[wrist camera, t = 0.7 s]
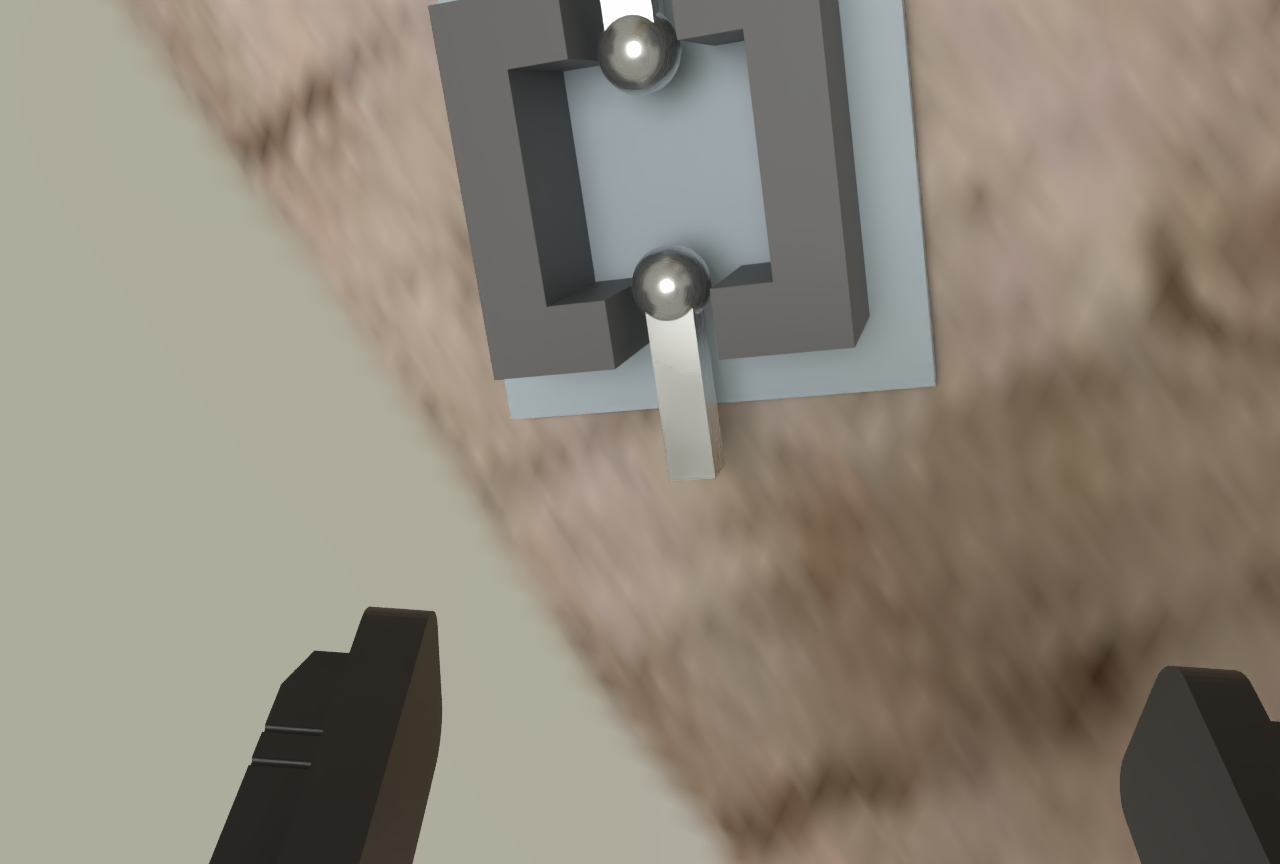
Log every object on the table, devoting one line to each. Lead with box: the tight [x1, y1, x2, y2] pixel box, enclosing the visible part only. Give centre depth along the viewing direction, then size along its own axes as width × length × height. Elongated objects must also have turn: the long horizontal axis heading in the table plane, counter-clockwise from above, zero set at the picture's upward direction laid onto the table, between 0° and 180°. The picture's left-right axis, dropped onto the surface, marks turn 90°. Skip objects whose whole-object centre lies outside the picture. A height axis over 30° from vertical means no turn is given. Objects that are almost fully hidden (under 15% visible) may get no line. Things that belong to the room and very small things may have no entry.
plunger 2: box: [631, 244, 725, 481], centre depth 30 cm, size 6×2×2 cm, turn 9°
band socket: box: [428, 0, 937, 420], centre depth 30 cm, size 13×12×5 cm
